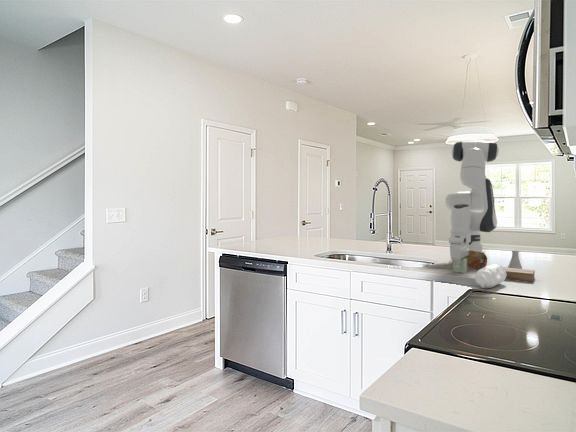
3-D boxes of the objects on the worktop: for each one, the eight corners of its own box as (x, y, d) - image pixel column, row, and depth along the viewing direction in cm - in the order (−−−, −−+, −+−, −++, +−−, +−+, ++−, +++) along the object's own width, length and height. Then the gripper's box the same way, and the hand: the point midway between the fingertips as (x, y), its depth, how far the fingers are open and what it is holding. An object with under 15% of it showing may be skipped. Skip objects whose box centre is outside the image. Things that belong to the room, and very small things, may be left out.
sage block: (455, 269, 185) (456, 257, 184) (466, 271, 182) (467, 258, 181) (453, 271, 181) (453, 259, 181) (464, 272, 178) (464, 260, 177)
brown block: (503, 275, 172) (503, 267, 171) (534, 279, 164) (534, 270, 164) (499, 279, 164) (499, 270, 164) (532, 283, 156) (532, 273, 156)
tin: (461, 265, 199) (461, 249, 198) (466, 264, 200) (466, 248, 199) (482, 270, 184) (483, 253, 184) (488, 269, 185) (488, 252, 185)
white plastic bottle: (469, 289, 145) (469, 269, 145) (485, 281, 159) (485, 262, 158) (491, 293, 140) (491, 271, 139) (506, 284, 153) (506, 265, 153)
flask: (526, 273, 176) (527, 251, 175) (509, 272, 177) (510, 251, 177) (520, 270, 183) (520, 249, 182) (504, 270, 184) (504, 249, 184)
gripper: (459, 236, 191) (458, 263, 191) (447, 239, 175) (447, 269, 175) (472, 236, 187) (472, 264, 187) (462, 240, 171) (461, 270, 171)
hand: (460, 266), depth 181 cm, fingers closed on sage block, 5 cm apart
